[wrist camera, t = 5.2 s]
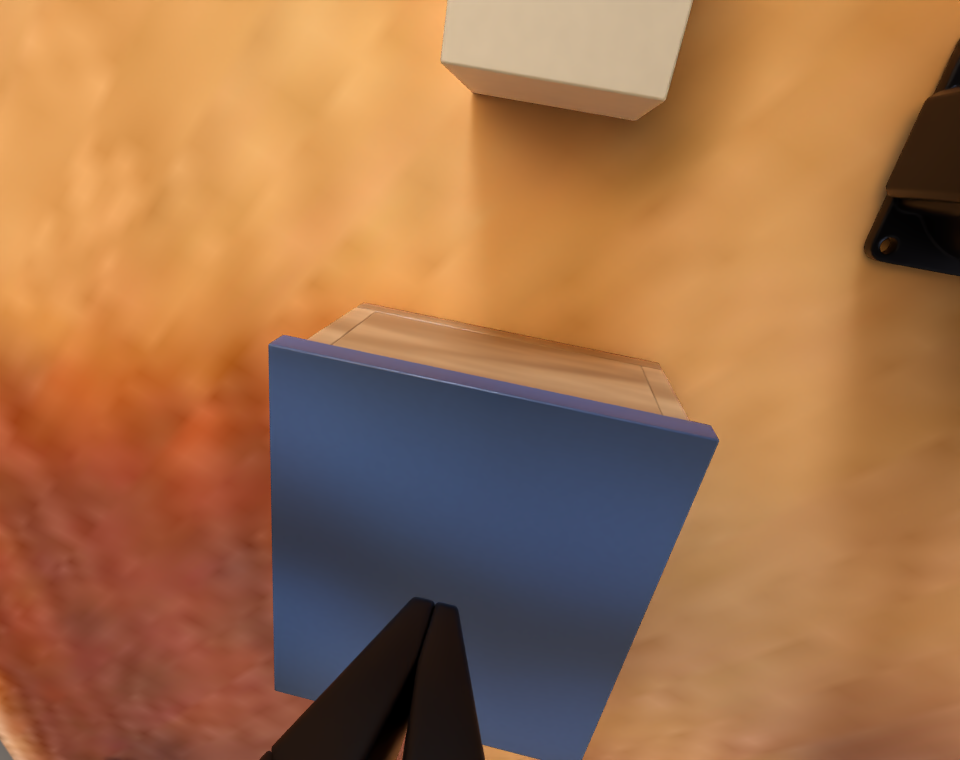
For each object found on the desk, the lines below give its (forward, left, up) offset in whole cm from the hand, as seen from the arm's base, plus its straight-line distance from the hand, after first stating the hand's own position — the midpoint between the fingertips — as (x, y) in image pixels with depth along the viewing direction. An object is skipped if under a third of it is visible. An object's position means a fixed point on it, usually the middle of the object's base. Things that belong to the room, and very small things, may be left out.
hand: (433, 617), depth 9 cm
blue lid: (0, +5, -6) cm, 7 cm away
